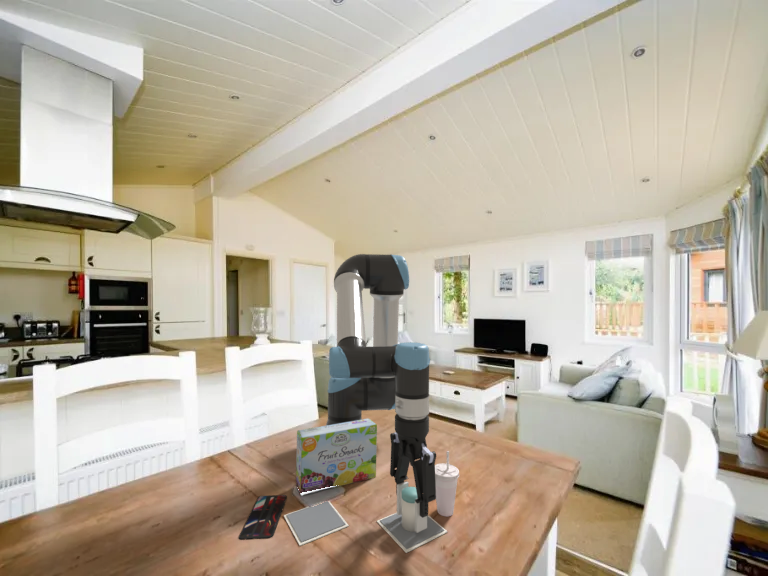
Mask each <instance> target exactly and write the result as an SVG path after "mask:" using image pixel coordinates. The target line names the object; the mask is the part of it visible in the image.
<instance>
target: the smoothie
mask: <svg viewBox="0 0 768 576" xmlns="http://www.w3.org/2000/svg"><path fill="white" fill-rule="evenodd" d="M459 477H460V470H459V468H458V467H456V466H455V465H453V464H450V451H449V450H447V451H446V463H445V462H444V463H443V462H442V463H435V483H436V500H435V501H436V511H437V514H439V515H440V516H443V517H451V516H453V515H454V511H455V502H456V496H457V495H456V494H457V487H458V485H457V484H458V478H459Z"/></svg>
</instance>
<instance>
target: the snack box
mask: <svg viewBox="0 0 768 576" xmlns="http://www.w3.org/2000/svg"><path fill="white" fill-rule="evenodd" d="M377 439H378V424H377V423H375V422H374V421H373V420H372V419H371V418H363V419H362V420H357V421H351V422H345V423H339V424H333V425H327V426H326V425H322V426H315V427H311V428H304V429H298V430H297V431H296V461H295V462H296V467H295V486H296V488H297V487H298V488H297V490H298V489H299V491H300V493H302V492H307V491H312V490H316V489H321V488H325V487H330V486H336V485H337V486H338V485H339V486H338V487H342V486H346V485H349V484H350V485H351V484H353V483H354V484H355V483H357V482H361V481H366V480H369V479H374V478H376V476H377V448H378V447H377V445H378V443H377V441H378V440H377ZM299 491H298V492H299ZM300 493H299V494H300Z"/></svg>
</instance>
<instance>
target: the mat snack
mask: <svg viewBox="0 0 768 576" xmlns="http://www.w3.org/2000/svg"><path fill="white" fill-rule="evenodd" d="M325 501H326V500H325ZM323 502H324V501H323ZM283 518H284V520H285V521H286V524H287V525H288V526H289V530H291V532H292V534H293V537H294V538H295V540H296V542H297V544H298V545H299V547H302V546H304V545H306V544H308V543H311V542H313V541H316V540H318V539H321V538H323V537H326V536H329V535H331V534H333V533H336V532H338V531H341V530H343V529H346V528H347V527H349V524H348V523H347V521H346V520H345V518H344V517H343V516H342V515H341V514H340V512H339V511H338V510H337V509H336V507H334V505H333V504H332V503H331V501H330V500H329V502H328V501H326V502H324V503H322V504H319V505H317V506H314V507H309V506H306V507H304V508H301V509H300V508H299V510H296V511H292V512H289V513H287V514H284V515H283Z"/></svg>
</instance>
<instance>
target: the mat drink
mask: <svg viewBox="0 0 768 576" xmlns="http://www.w3.org/2000/svg"><path fill="white" fill-rule="evenodd" d="M376 523H377V524H378V525H379V526H380V527H381V529H383V530H384V531H385V532H386V533H387V534H388V535H389V536H390V537H391V539H392V540H393V541H394V542H395V543H396V544H397V545H398V546H399V547H400V548H401V549H402V550H403V551H404V553H406V554H408V553H409V552H411V551H413V550H416V549H418V548H419V547H421V546H424V545H425V544H427V543H429V542H431V541H433V540H436V539H437V538H439V537H441V536H443V535H445V534H447V533H448V530H447V529H445V528H444V527H443V526H442V525H441V524H440V523H438V522H437V521H436V520H435V519H433V517H432V516H430V515H429V514H428V516H427V528H426V529H424V530H422V531H420V532H418V533H417V532H416V531H415V532H410V531H407V530H405V529H404V528H403V527H402V514H401V515H398V514H397V512H394V513H392V514H390V515H388V516H385V517H383V518H381V519H378V520H376Z"/></svg>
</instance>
